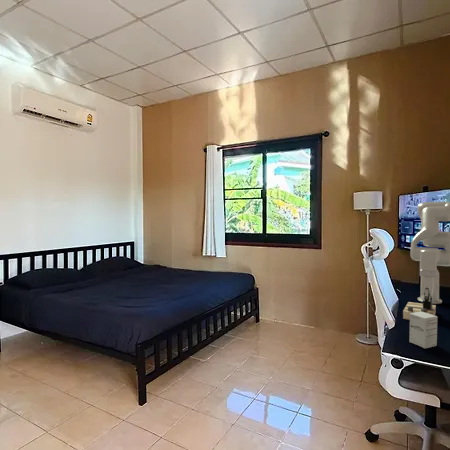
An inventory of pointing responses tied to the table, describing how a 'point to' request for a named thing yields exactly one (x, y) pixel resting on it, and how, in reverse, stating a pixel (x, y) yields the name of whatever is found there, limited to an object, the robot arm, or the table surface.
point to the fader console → (416, 309)
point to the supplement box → (423, 329)
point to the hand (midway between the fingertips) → (427, 306)
